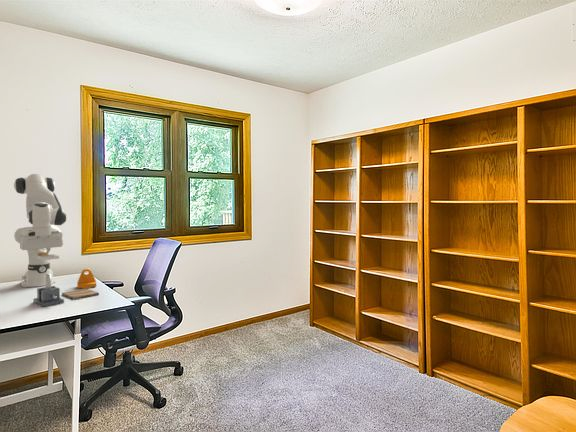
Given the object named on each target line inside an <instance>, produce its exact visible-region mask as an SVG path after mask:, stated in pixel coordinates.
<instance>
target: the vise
mask: <svg viewBox="0 0 576 432" xmlns="http://www.w3.org/2000/svg"><path fill="white" fill-rule="evenodd" d="M36 289H37V291H36V293H37V294H36V295H37V296H36V297H35V298H33V299H32V300H33V303H34V304H36V305H38V306H40V307H43V308H46V307H50V305H51V306H56V305H60V303H61V304H64V303H65V301H64V298H61V297H60V295H61V294H60V292H61V291H60V287H57V286H54V285H52V284H51V274H46V285H45V286H43V287H38V288H36ZM55 304H56V305H55Z"/></svg>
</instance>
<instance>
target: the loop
mask: <svg viewBox="0 0 576 432" xmlns="http://www.w3.org/2000/svg"><path fill="white" fill-rule="evenodd" d="M38 253H40V256H37V259H39V260H49V261H50V260H58V259H60V255H58V254H49V255H48V253H45V252H38Z"/></svg>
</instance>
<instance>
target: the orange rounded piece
mask: <svg viewBox="0 0 576 432" xmlns="http://www.w3.org/2000/svg"><path fill="white" fill-rule="evenodd" d="M85 272H88V273H87V274H86V273H85ZM76 287H77V289H81V290H82V289H93V288H92V287H97V281H96V278H95V276H94V274H93V272H92V270H91V268H89V267H86V268H84V269H82V271H81V273H80V274H79V277H78V280H77V283H76Z"/></svg>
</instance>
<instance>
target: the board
mask: <svg viewBox="0 0 576 432" xmlns="http://www.w3.org/2000/svg"><path fill="white" fill-rule="evenodd" d="M99 294H100V293H99V292H98V291H95V290H91V289H90V288H85V289H82V288H81V289H77V290H72V291H67V292H62V294H61V295H62V296H63V295H64V296H63V297H66V298H68V297H69V299H71V300H73V299H74V301H75V299H76V300H81V299H85V297H86V298H91V297H95V296H99ZM80 298H81V299H80Z"/></svg>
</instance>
